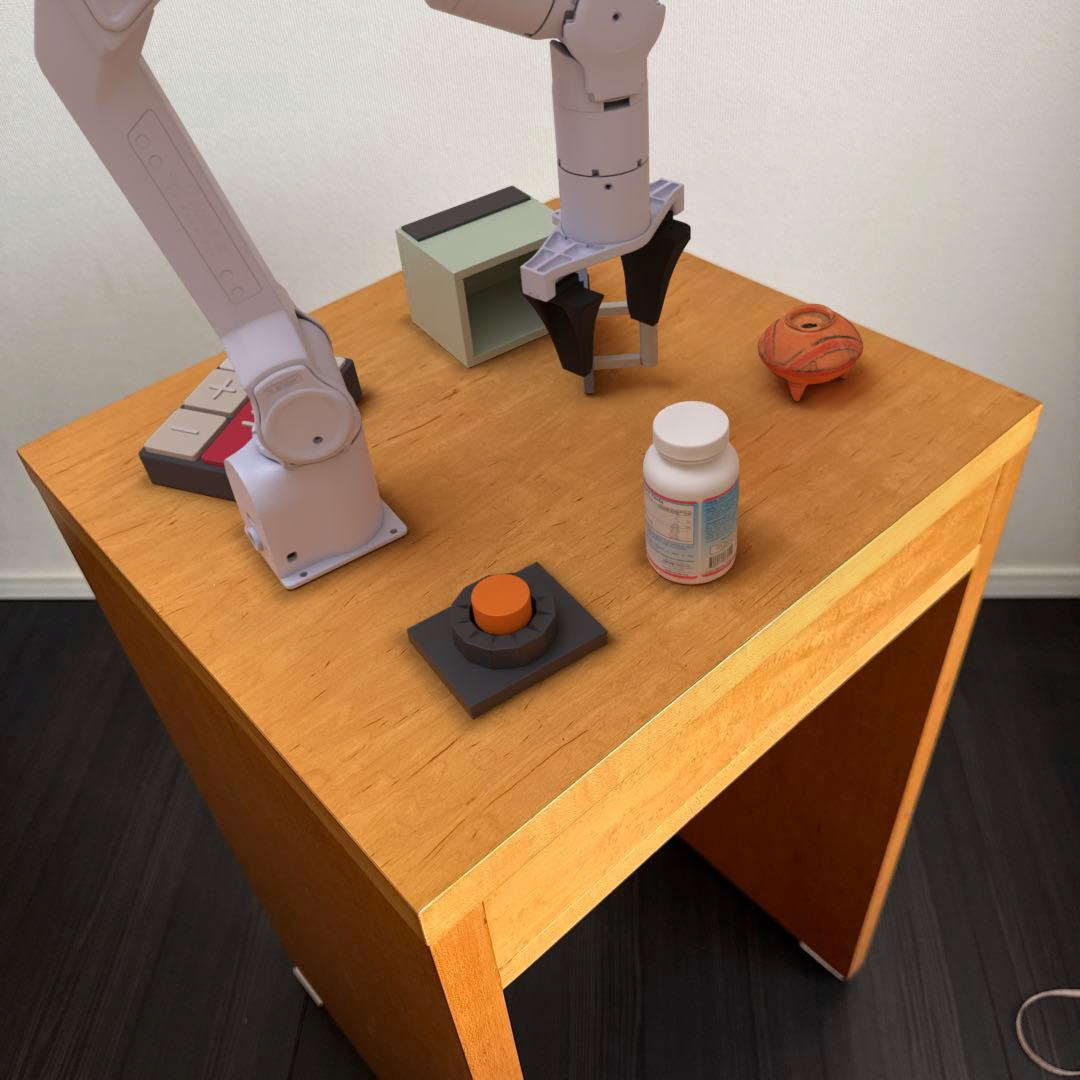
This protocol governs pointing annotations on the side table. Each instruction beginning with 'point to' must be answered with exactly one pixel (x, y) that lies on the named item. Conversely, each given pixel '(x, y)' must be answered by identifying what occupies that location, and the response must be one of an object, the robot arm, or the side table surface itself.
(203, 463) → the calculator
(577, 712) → the side table surface
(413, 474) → the side table surface
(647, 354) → the washer door
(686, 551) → the pill bottle
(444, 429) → the side table surface
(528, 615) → the button
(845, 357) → the pot
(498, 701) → the block
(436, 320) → the washer
